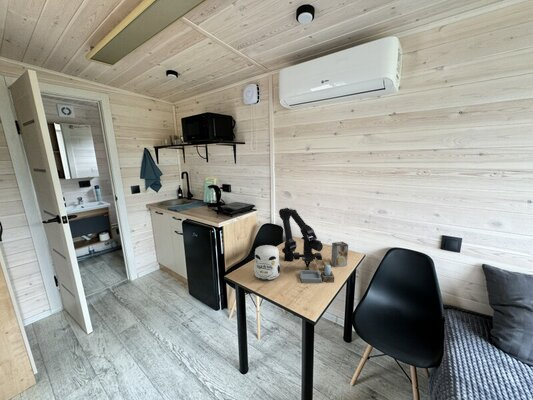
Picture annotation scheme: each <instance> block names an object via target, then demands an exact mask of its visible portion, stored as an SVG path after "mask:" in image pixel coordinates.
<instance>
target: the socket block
mask: <svg viewBox="0 0 533 400" xmlns="http://www.w3.org/2000/svg"><path fill="white" fill-rule="evenodd" d="M324 274H325V270H321V271H320V275H321V278H322V283H335V275H334V273H333V271H332V270H331V273H330V276H324Z"/></svg>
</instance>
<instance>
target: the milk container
mask: <svg viewBox="0 0 533 400" xmlns="http://www.w3.org/2000/svg"><path fill="white" fill-rule="evenodd" d="M253 273H254V275H255V277H256V278H257V279H259V280H262V281H272V280H276V279H277V278H278V277H279V275H280V273H281V265H280V252H279V248H278V247H276V246H275V245H270V244H269V245H268V244H265V245H259V246H258V247H256V248H255V251H254V264H253Z"/></svg>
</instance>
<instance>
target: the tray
mask: <svg viewBox="0 0 533 400" xmlns="http://www.w3.org/2000/svg"><path fill="white" fill-rule="evenodd" d="M299 275H300V280H301V283H307V284H308V283H309V284H310V283H311V284H312V283H313V284H322V283H323V281H322V278H321V271H320V270H319V271H316V270H309V269H308V270H307V269H300V270H299Z"/></svg>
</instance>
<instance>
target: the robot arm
mask: <svg viewBox="0 0 533 400" xmlns="http://www.w3.org/2000/svg"><path fill="white" fill-rule="evenodd" d="M278 215H279V217H280V219H281V221H282V224H283V230H284V237H285V242H284V247H283V248H282V249H281V252H282V253H283V254H284V256H283V259H284V260H283V261H284V262H294V260H296V261H297V260H300V259H301V261H302V262H304V264H305V267H306V269H309V264H310V263H311V262H313V261H314V260H316V261H322V260H323V256H322V253H321V251H322V250H323V247H324V245H323V243H322V241H321V240H319V239H318V237H317V234H316V233H315V229H313V228H312V227H311V226H310V225H308V224H307V223H306V222H305V220H304V219H303V218H302V217H301V216H300V214H299V213H298V211H297V210H296V209H293V208H289V207H285V208H283V207H282V208H281V209H279V210H278ZM291 218H292V219H293V220H294V222H295V223H296V225H297V226H298V227H299V229H300V233H301V235H302V237H300V239H301V240H303V247H302V248H303V250H302V251H303V253H301V254H300V252H295V251H296V250H297V247H298V245H297V240H294V238H293V234H292V228H291V222H290V219H291ZM313 250H315V251H316V252H314V253H313Z"/></svg>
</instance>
